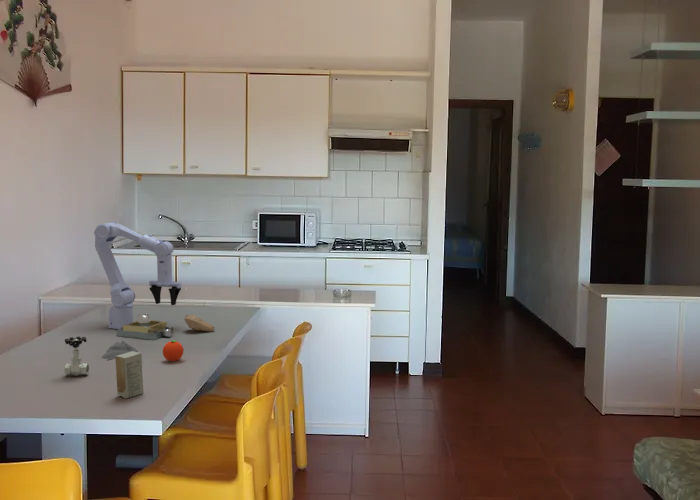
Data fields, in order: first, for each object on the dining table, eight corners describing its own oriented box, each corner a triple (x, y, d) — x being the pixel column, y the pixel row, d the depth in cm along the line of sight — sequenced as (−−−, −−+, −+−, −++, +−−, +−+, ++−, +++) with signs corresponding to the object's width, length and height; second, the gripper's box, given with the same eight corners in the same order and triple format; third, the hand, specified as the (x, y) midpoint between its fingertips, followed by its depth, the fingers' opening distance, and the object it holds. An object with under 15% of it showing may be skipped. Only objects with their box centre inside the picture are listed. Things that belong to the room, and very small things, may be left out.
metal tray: (116, 335, 269) (116, 324, 269) (136, 329, 280) (136, 318, 280) (161, 340, 262) (160, 329, 261) (179, 333, 273) (179, 322, 272)
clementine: (167, 357, 239) (166, 337, 238) (187, 357, 239) (186, 337, 238) (160, 363, 231) (159, 343, 230) (180, 364, 231) (180, 343, 230)
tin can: (135, 329, 270) (135, 313, 269) (144, 326, 274) (143, 311, 273) (144, 330, 268) (144, 314, 267) (152, 328, 272) (152, 312, 271)
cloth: (121, 363, 233) (121, 357, 233) (83, 362, 235) (83, 355, 234) (151, 344, 259) (150, 338, 259) (116, 343, 260) (116, 337, 260)
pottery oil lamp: (212, 334, 273) (211, 316, 272) (182, 334, 273) (181, 316, 272) (216, 329, 281) (216, 312, 281) (187, 329, 281) (186, 312, 280)
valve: (69, 372, 220) (68, 336, 219) (90, 372, 221) (89, 336, 219) (63, 379, 214) (61, 341, 212) (84, 378, 214) (83, 341, 213)
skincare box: (134, 390, 203) (133, 350, 201) (144, 393, 200) (142, 352, 199) (116, 396, 197) (114, 355, 196) (125, 399, 195) (124, 357, 194)
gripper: (143, 271, 277) (144, 304, 279) (173, 273, 272) (174, 307, 274) (154, 269, 284) (155, 301, 285) (184, 271, 279) (184, 304, 280)
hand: (165, 304), depth 280 cm, fingers open, 7 cm apart
